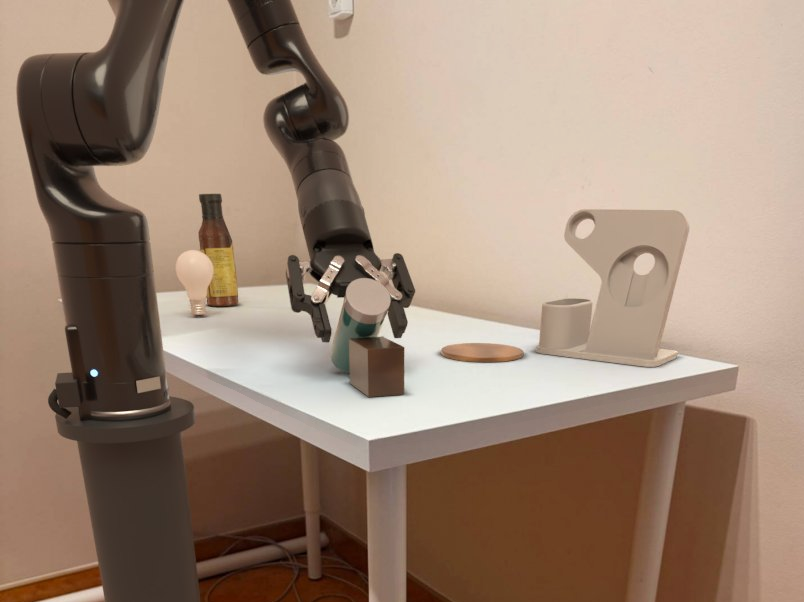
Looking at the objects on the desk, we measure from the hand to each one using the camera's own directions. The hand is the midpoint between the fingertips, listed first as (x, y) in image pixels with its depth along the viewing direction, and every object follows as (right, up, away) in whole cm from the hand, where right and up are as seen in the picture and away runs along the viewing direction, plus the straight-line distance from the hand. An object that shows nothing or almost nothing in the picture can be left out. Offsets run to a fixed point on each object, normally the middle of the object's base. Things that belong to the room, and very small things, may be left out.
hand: (364, 336), depth 85 cm
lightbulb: (-32, +16, +49) cm, 60 cm away
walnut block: (+1, -6, -2) cm, 7 cm away
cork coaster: (+15, +2, +18) cm, 23 cm away
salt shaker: (-1, -4, +4) cm, 5 cm away
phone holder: (+32, +2, +19) cm, 37 cm away
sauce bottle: (-31, +23, +63) cm, 74 cm away
